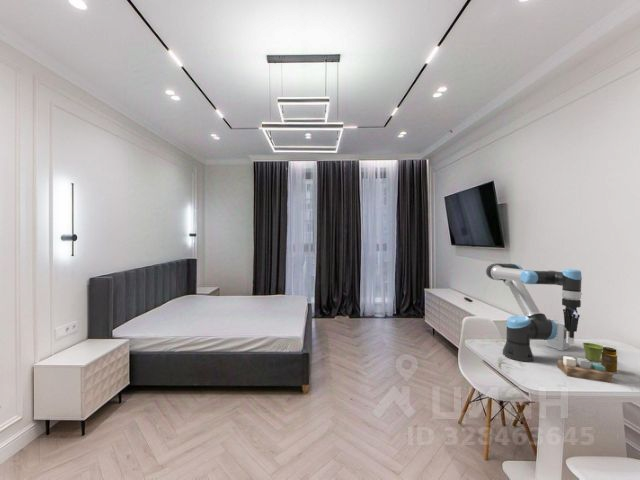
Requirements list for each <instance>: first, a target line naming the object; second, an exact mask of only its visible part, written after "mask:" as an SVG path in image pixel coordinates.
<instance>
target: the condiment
mask: <svg viewBox="0 0 640 480" xmlns="http://www.w3.org/2000/svg"><path fill="white" fill-rule="evenodd" d="M617 353H618V352H617V349H616V348H613V347H609V346H603V351H602V354H601V358H600V362H601V365H602V366H604V367H605V370H607V371H608V372H609V373H611V374H612V375H613V374H622V372H620V371H618V355H617Z"/></svg>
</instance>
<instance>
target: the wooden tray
mask: <svg viewBox="0 0 640 480" xmlns="http://www.w3.org/2000/svg"><path fill="white" fill-rule="evenodd" d="M557 368H558V369H559V370H560V371H561V372H562V373H563V374H564V375H566V377H570V378H571V377H573V378H578V379H586V380H591V381H597V382H603V383H604V382H605V383H609V384H610V383H611V384H612V383H613V374H611V373H609V372H608V371H607V370H605V371H599V370H594V369H593V368H592V367H591V363H590V369H585V368H580V367H578V366H577V361H576V367H571V366H565V365H564V364H563V359H557Z"/></svg>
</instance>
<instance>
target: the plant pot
mask: <svg viewBox="0 0 640 480" xmlns="http://www.w3.org/2000/svg"><path fill="white" fill-rule="evenodd" d="M581 344H582V345H583V348H584V354H585V355H584V357H585V359H587V360H588V361H590V362H591V361H592V362H595V363H599V362H601V358H602V352H603V347H604V346H603V345H600V344H598V343H594V342H582V343H581Z"/></svg>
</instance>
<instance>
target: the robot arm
mask: <svg viewBox="0 0 640 480" xmlns="http://www.w3.org/2000/svg"><path fill="white" fill-rule="evenodd" d="M485 273H486V276H487V277H488V278H489V279H491V280H494V281H502V282H503V284H504V285H505V286H508V287H509V289H510V291H511V293H512V295H513V297H514V299H515V301H516V303H517V305H518V307H519V309H520V310H521V312H522V314H523V315H512V316H511V315H510V316H509V317H508V318H507V320H506V340H505V343H504V346H503V348H502V355H503V356H504V355H505V358H508V359H511V360H514V361H520V362H533V361H534V354H533V352H532V351H533V350H532V348H531V340H532V341H534V340H535V341H536V340H540V341H541V340H542V341H547V340H551V339H553V338H555V337H556V335H557V326H556V324H555V322H554V321H552V320H553V319H550V318H547V316H546V314H545V313H542V312H540V309H539V307H538V306H537V304H536V302H535V300H533V298H532V296H531V294H530V292H529V291H528V289H527V287H526V285H548V286H549V285H551V286H552V285H555V286H562V287H561V289H562V290H561V297H562V298H561V305H562V306H563V307H565V308H564V309H562V311H563V313H562V314H563V320H564V321H563V322H564V324H565V328H566V330H567V339H566V343H568V344H570V345H574V344H575V332H576V333H577V332H578V331H577V330H578V325H579V319H580V316H581V315H580V314H578V310H577V308H581V306H582V301H581V299H582V295H583V294H582V278H583V277H582V271H581V270H580V269H572V268H565V269H562V271H557V270H530V269H523V268H522V266H521V265H520V264H517V263H499V262H498V263H496V262H495V263H490V265H489V264H488V266H487V268H486V269H485Z"/></svg>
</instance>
